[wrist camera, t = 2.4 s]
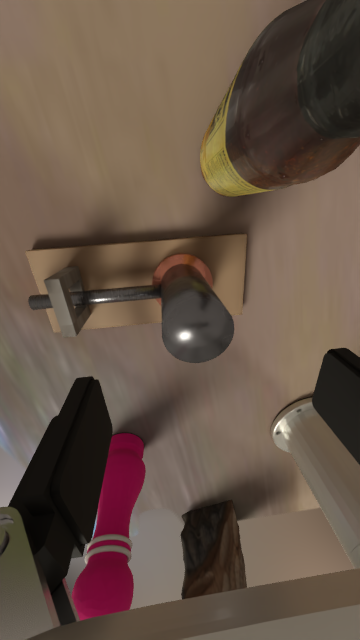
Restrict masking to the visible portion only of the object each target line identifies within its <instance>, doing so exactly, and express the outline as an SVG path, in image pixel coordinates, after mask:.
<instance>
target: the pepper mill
mask: <svg viewBox="0 0 360 640" xmlns="http://www.w3.org/2000/svg"><path fill="white" fill-rule="evenodd" d="M143 451H144V444H143V441H142V440H141V439H140V438H139V437H138V436H136V435H134V434H130V433H120V434H116V435H114V436H112V438H111V443H110V448H109V454H108V459H107V464H106V469H105V474H104V479H103V484H102V489H101V494H100V499H99V504H98V518H97V525H96V530H95V533H94V537H93V540H91V541H90V543H89V544H88V546H87V554H86V556H85V563H86V564H87V566H86V567H85V569H84V570H83V571H82V573H81V574H80V575H79V577H78V578H77V580H76V582H75V585H74V588H73V592H72V596H71V597H72V599H73V602H74V605H75V608H76V610H77V613H78V616H79V618H80V621H81V620H85V619H88V618H92V617H97V616H102V615H107V614H112V613H117V612H121V611H126V610H129V609H130V606H131V603H132V598H133V588H134V583H133V575H132V573H131V570H130V568H129V567H128V564H127V563H128V562H129V561H130V559H131V548H132V542H131V540H130V539H129V524H130V517H131V513H132V509H133V507H134V504H135V502H136V500H137V498H138V495H139V493H140V491H141V489H142V486H143V483H144V479H145V471H146V470H145V465H144V462H143V461H142V458H143Z"/></svg>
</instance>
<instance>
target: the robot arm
mask: <svg viewBox="0 0 360 640" xmlns="http://www.w3.org/2000/svg"><path fill="white" fill-rule="evenodd" d="M271 436H272V439H273V441H274V442H275V444H276V445H277V446H278V447H279V448H280V449H282V450H284V451H286V452H290V453H291V455H292V456H293V458H294V460H295V462H296V464H297V465H298V467H299V469H300V471H301V473H302V474H303V476H304V478H305V480H306V482H307V484H308V485H309V487H310V489H311V491H312V493H313V494H314V496H315V498H316V500H317V502H318V503H319V505H320V507H321V509H322V510H323V512H324V514H325V516H326V518H327V519H328V521H329V523H330V525H331V527H332V529H333V531H334V532H335V534H336V536H337V538H338V539H339V541H340V543H341V545H342V546H343V549H344V550H345V552H346V554H347V556H348V558H349V559H350V561H351V563H352V565H353V567H354V568H355V569H352V570H346V571H340V572H335V573H329V574H323V575H317V576H312V577H306V578H301V579H295V580H289V581H284V582H278V583H272V584H266V585H260V586H255V587H249V588H244V589H238V590H233V591H227V592H222V593H216V594H210V595H205V596H199V597H194V598H188V599H183V600H177V601H172V602H166V603H161V604H156V605H151V606H146V607H141V608H136V609H131V610H126V611H121V612H117V613H112V614H107V615H102V616H97V617H92V618H88V619H85V620H81V621H80V618H79V616H78V613H77V610H76V608H75V605H74V602H73V599H72V597H71V594H70V592H69V588H68V586H67V584H66V581H65V576H66V575H67V573H68V569H69V565H70V561H71V558H76V557H82V556H83V552H84V548H85V544H87V543H90V541H91V538H92V535H93V530H94V525H95V520H96V514H97V509H98V504H99V499H100V494H101V489H102V484H103V479H104V474H105V469H106V464H107V459H108V454H109V448H110V443H111V438H112V423H111V420H110V417H109V413H108V410H107V406H106V403H105V400H104V396H103V393H102V390H101V386H100V383H99V380H94V378H93V377H92V376H91V377H82V378H77V379H76V380H75V382H74V384H73V386H72V388H71V390H70V392H69V394H68V396H67V398H66V400H65V403H64V405H63V407H62V409H61V411H60V413H59V415H58V416H55V417H54V418H53V419H52V420H51V422H50V424H49V426H48V428H47V430H46V432H45V434H44V436H43V438H42V440H41V442H40V444H39V446H38V448H37V450H36V452H35V454H34V456H33V458H32V460H31V462H30V464H29V466H28V468H27V470H26V472H25V474H24V476H23V478H22V479H21V481H20V484H19V485H18V487H17V489H16V491H15V493H14V496H13V498H12V500H11V501H10V503H9V506H8V507H1V508H0V640H360V357H358V356H357V355H356V354H354V353H353V352H351V351H350V350H349V349H347V348H338V349H331V350H329V351H328V352H327V354H325V355H324V358H323V362H322V365H321V369H320V372H319V376H318V380H317V383H316V387H315V390H314V394H313V397H311V398H307V399H303V400H300V401H298V402H296V403H294V404H292V405H290V406H288V407H287V408H286V409H284V410H283V411H282V412H281V413H280V414H279V415H278V416H277V418H276V419H275V420H274V422H273V424H272V428H271Z"/></svg>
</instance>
